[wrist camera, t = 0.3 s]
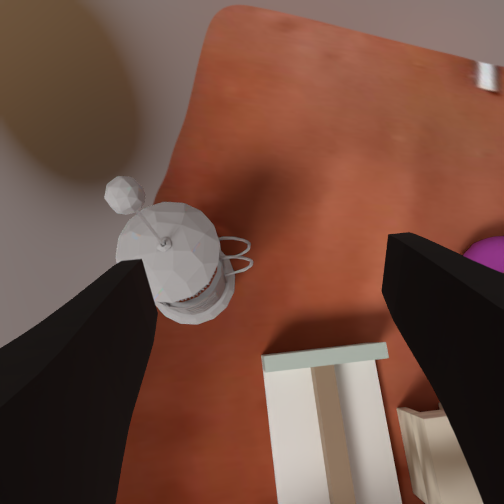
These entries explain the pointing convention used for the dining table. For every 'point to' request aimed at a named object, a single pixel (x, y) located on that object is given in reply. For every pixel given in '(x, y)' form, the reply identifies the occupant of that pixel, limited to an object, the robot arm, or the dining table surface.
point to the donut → (488, 252)
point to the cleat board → (306, 438)
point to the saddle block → (436, 459)
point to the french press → (175, 253)
